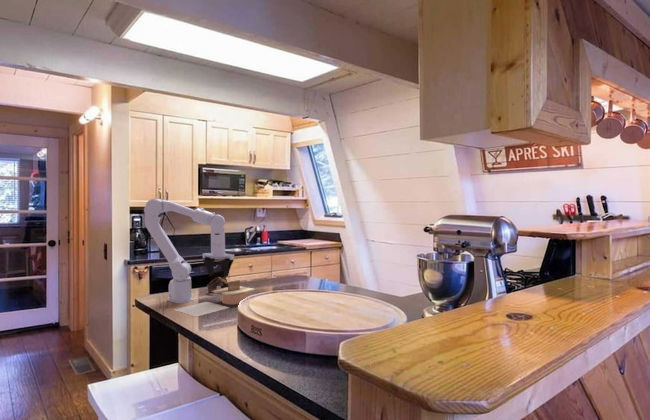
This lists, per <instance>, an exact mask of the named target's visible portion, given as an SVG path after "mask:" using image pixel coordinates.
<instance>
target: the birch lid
mask: <svg viewBox="0 0 650 420" xmlns="http://www.w3.org/2000/svg"><path fill="white" fill-rule="evenodd" d="M227 282H228V287H226V288H222V289H221V288H219V289H218V288H217V290H213V291H212V293H215V294H219V295H220V294H221V295H222V294H225V295H229V296H235V295H239V294H243V293H247V294H248V293H251V292H254V291H256V288H254V287H253V288H252V287H248V286H241V281H240V279H239V280H238V279H236V280H232V281H227Z"/></svg>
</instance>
